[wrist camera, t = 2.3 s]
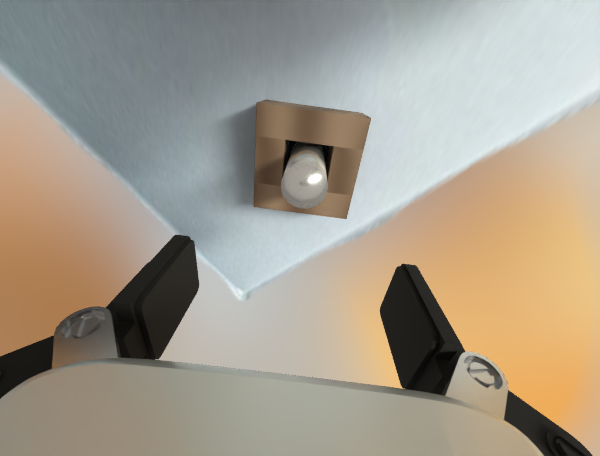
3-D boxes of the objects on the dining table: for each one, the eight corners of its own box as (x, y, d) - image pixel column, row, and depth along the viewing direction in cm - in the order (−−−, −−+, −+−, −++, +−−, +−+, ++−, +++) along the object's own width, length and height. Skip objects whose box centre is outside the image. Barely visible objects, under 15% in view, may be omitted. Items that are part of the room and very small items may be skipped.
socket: (362, 113, 28) (371, 118, 23) (342, 201, 33) (346, 218, 29) (265, 99, 28) (256, 102, 23) (261, 190, 33) (253, 206, 29)
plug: (326, 140, 30) (331, 167, 20) (320, 173, 32) (323, 211, 22) (293, 136, 29) (283, 161, 20) (289, 169, 31) (279, 205, 22)
